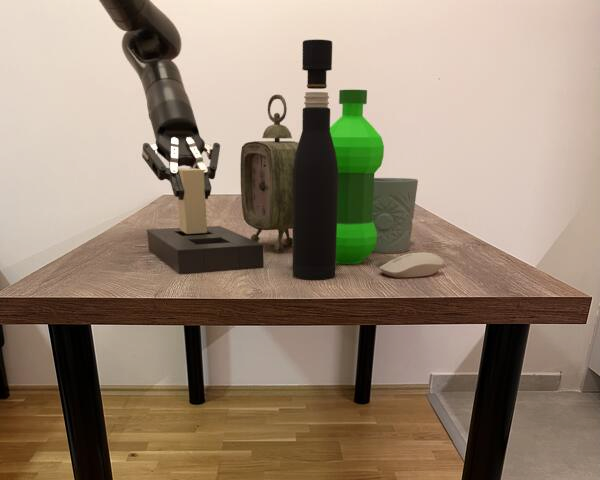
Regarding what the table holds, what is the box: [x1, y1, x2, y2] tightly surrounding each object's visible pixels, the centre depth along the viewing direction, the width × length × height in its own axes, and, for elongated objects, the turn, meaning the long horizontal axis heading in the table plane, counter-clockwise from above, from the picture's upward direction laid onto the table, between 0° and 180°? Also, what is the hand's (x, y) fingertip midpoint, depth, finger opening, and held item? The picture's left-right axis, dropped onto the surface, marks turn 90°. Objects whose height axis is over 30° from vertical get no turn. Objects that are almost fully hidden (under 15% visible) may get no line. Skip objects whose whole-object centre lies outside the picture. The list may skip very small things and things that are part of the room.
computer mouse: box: [379, 252, 444, 279], centre depth 96 cm, size 6×10×3 cm, turn 111°
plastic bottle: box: [330, 89, 385, 265], centre depth 100 cm, size 10×10×25 cm
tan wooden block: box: [177, 167, 208, 234], centre depth 108 cm, size 4×5×10 cm
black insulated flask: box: [292, 39, 338, 281], centre depth 89 cm, size 6×6×30 cm
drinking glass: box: [372, 177, 419, 254], centre depth 114 cm, size 10×10×12 cm
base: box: [146, 225, 265, 275], centre depth 107 cm, size 14×23×4 cm, turn 23°
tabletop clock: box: [239, 94, 299, 253], centre depth 113 cm, size 14×9×25 cm, turn 27°
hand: (194, 195), depth 106 cm, fingers closed on tan wooden block, 3 cm apart
